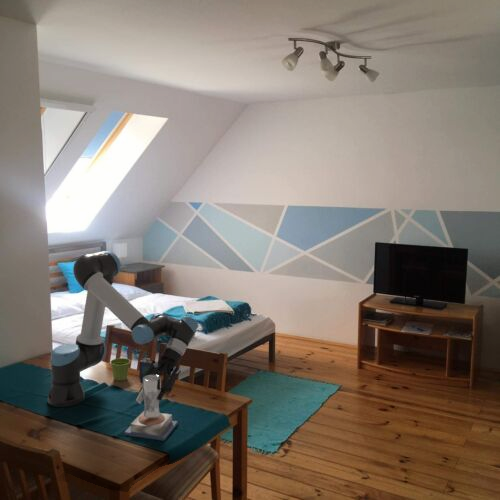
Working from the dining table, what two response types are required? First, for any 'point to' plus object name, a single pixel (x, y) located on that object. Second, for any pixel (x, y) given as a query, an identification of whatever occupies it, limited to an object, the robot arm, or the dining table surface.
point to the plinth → (151, 424)
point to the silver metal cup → (151, 394)
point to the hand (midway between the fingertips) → (145, 404)
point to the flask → (144, 366)
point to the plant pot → (120, 368)
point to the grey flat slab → (150, 436)
